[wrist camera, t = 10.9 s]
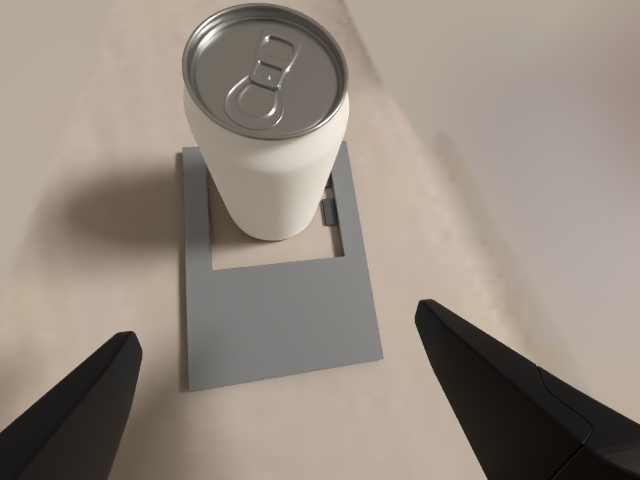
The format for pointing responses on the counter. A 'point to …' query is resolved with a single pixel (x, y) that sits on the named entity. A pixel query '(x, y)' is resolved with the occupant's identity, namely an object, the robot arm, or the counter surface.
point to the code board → (276, 297)
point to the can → (266, 112)
